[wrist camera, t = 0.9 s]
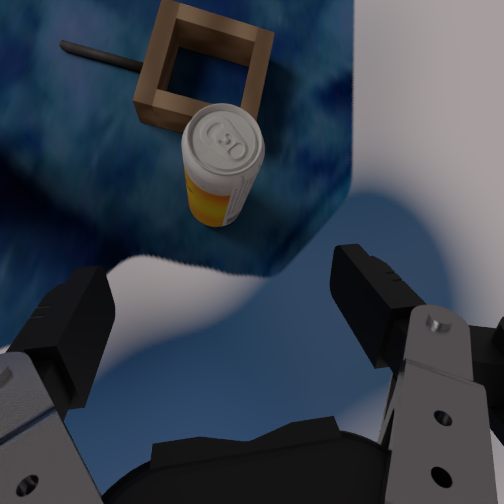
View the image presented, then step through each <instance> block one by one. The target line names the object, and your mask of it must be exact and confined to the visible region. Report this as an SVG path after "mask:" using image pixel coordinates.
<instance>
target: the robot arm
mask: <svg viewBox="0 0 504 504" xmlns="http://www.w3.org/2000/svg"><path fill="white" fill-rule="evenodd" d="M330 291H331V295H332V297H333V299H334V301H335V303H336V304H337V306H338V308H339V309H340V311H341V313H342V314H343V316H344V318H345V319H346V321H347V323H348V324H349V326H350V328H351V329H352V331H353V333H354V335H355V336H356V338H357V339H358V341H359V343H360V345H361V346H362V348H363V350H364V351H365V353H366V355H367V356H368V358H369V360H370V361H371V363H372V365H373V366H374V368H375V369H376V368H382V367H383V368H384V367H390V369H391V370H392V376H391V379H390V384H389V389H388V394H387V399H386V404H385V409H384V414H383V419H382V424H381V429H380V434H379V437H378V441H377V442H374V441H372V440H370V439H368V438H366V437H363V436H361V435H357V434H354V433H350V432H346V431H340V430H339V428H338V426H337V423H336V421H335V418H334V416H330V417H324V418H317V419H311V420H304V421H298V422H291V423H289V424H287V425H285V426H283V427H280V428H278V429H276V430H274V431H271V432H270V433H267V434H265V435H263V436H260V437H258V438H256V439H254V440H251V441H235V440H226V439H217V438H207V437H194V438H188V439H181V440H175V441H168V442H162V443H155V444H153V446H152V454H151V460H150V461H148V462H146V463H144V464H142V465H140V466H139V467H137V468H135V469H133V470H132V471H130V472H129V473H127V474H126V475H125V476H123V477H122V478H121V479H119V480H118V481H117V482H116V483H115V484H114V485H113V486H111V487H110V488H109V489H108V490H107V491H106V492H105V493H104V494H103V495H101V493H100V491H99V489H98V487H97V485H96V484H95V481H94V480H93V478H92V476H91V474H90V472H89V470H88V468H87V466H86V464H85V462H84V460H83V458H82V456H81V454H80V453H79V450H78V448H77V446H76V445H75V443H74V441H73V439H72V437H71V435H70V433H69V431H68V429H67V427H66V425H65V423H64V419H65V416H66V414H67V411H68V410H69V409H76V408H84V407H85V405H86V402H87V399H88V396H89V393H90V390H91V387H92V384H93V382H94V379H95V376H96V373H97V370H98V367H99V364H100V361H101V358H102V355H103V352H104V349H105V346H106V344H107V341H108V338H109V335H110V332H111V329H112V326H113V323H114V320H115V304H114V300H113V297H112V293H111V290H110V287H109V283H108V280H107V276H106V273H105V270H104V268H103V267H102V266H101V265H99V266H87V267H77V268H75V269H74V270H73V272H72V274H71V275H70V277H69V278H68V280H67V281H66V283H65V284H59V285H58V286H56V287H55V288H54V289H52V290H51V291H50V292H48V293H47V294H46V295H45V296H44V298H43V299H42V301H41V302H40V303H39V305H38V308H37V309H35V311H34V312H33V314H32V315H31V318H30V319H28V321H27V322H26V324H25V325H24V327H23V328H22V329H21V331H20V332H19V334H18V335H17V337H16V338H15V340H14V341H13V342H12V344H11V345H10V347H9V348H8V350H7V351H6V353H3V354H0V504H498V501H497V492H496V483H495V473H494V464H493V454H492V445H491V435H490V429H491V430H492V431H493V433H494V434H495V435H496V437H497V438H498V439H499V441H500V442H501V443H502V445H503V446H504V317H502V319H501V320H500V322H499V324H498V326H497V328H488V327H479V326H471V325H468V324H467V323H466V321H465V320H464V319H463V318H462V317H460V316H459V315H458V314H456V313H455V312H453V311H451V310H448V309H446V308H443V307H440V306H435V305H427V304H426V303H425V302H424V301H423V300H422V299H421V298H420V297H419V296H418V295H417V294H416V293H415V292H414V291H413V290H412V289H411V288H410V287H409V286H408V285H407V284H406V283H405V282H404V281H402V279H401V278H400V277H399V276H398V275H397V274H396V273H395V272H394V271H393V270H392V269H391V267H390V266H388V265H387V263H385V262H383V261H382V260H380V259H378V258H376V257H374V256H369V255H368V254H367V253H366V252H365V251H364V249H363V248H362V247H361V246H360V245H359V244H349V245H338V246H336V247H335V249H334V255H333V261H332V268H331V276H330Z"/></svg>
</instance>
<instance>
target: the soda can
mask: <svg viewBox="0 0 504 504" xmlns="http://www.w3.org/2000/svg"><path fill="white" fill-rule="evenodd" d="M182 154H183V162H184V169H185V177H186V185H187V193H188V201H189V207H190V210H191V212H192V214H193V215H194V217H195V218H196V219H197V220H198V221H200V222H201V223H203V224H205V225H207V226H211V227H222V226H225V225H228V224H230V223H231V222H233V221H234V220H235V219H236V218H237V217H238V215H239V214H240V212H241V209H242V207H243V205H244V203H245V200H246V198H247V196H248V194H249V192H250V189H251V187H252V185H253V183H254V180H255V178H256V176H257V174H258V172H259V169H260V167H261V165H262V162H263V159H264V155H265V144H264V140H263V136H262V134H261V130H260V128H259V126H258V124H257V122H256V121H255V119H254V118H253V117H252V116H251V115H250V114H249V113H248V112H246V111H245V110H243V109H241V108H239V107H237V106H234V105H231V104H222V103H221V104H213V105H209V106H207V107H205V108H203V109H201V110H200V111H199V112H197V113H196V114H195V115H194V117H193V118H192V120H191V121H190V122H189V123H188V125H187V126H186V128H185V130H184V133H183V136H182Z"/></svg>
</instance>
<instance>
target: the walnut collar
mask: <svg viewBox="0 0 504 504" xmlns="http://www.w3.org/2000/svg"><path fill="white" fill-rule="evenodd" d="M274 33H275V32H272V31H269V30H265V29H262V28H259V27H256V26H252V25H249V24H246V23H243V22H240V21H236V20H233V19H230V18H227V17H224V16H220V15H217V14H214V13H211V12H207V11H204V10H201V9H198V8H195V7H191V6H188V5H185V4H182V3H179V2H175V1H172V0H161V4H160V7H159V11H158V14H157V18H156V21H155V25H154V28H153V32H152V35H151V39H150V42H149V45H148V49H147V52H146V56H145V59H144V63H142V62H138V61H135V60H131V59H128V58H124V57H121V56H117V55H114V54H110V53H107V52H103V51H100V50H96V49H92V48H89V47H85V46H82V45H78V44H75V43H71V42H68V41H64V40H62V41H60V47H61V49H62V50H64V51H68V52H71V53H75V54H78V55H82V56H85V57H89V58H93V59H96V60H100V61H103V62H107V63H111V64H114V65H118V66H121V67H125V68H129V69H132V70H136V71H139V72H141V73H140V77H139V80H138V84H137V87H136V91H135V94H134V98H133V103H134V106H135V109H136V112H137V114H138V117H139V120H140V122H143V123H147V124H150V125H154V126H158V127H162V128H166V129H170V130H174V131H177V132H181V133H184V130H185V128H186V126H187V125H188V123H189V122H190V121H191V120H192V118H193V117H194V115H195V114H196V113H197V112H199V111H200V110H201V109H203V108H205V107H207V106H209V105H213V104H210V103H206V102H203V101H199V100H195V99H192V98H188V97H184V96H181V95H177V94H173V93H170V92H167V88H168V85H169V81H170V77H171V73H172V70H173V66H174V62H175V58H176V55H177V51H178V47H182V48H186V49H189V50H193V51H196V52H199V53H203V54H206V55H210V56H213V57H216V58H220V59H223V60H227V61H230V62H233V63H237V64H240V65H244V66H247V67H249V71H248V75H247V80H246V85H245V89H244V94H243V98H242V103H241V109H243V110H245V111H246V112H248V113H249V114H250V115H251V116H252V117H253V118H254V119H255V121H256V120H257V116H258V111H259V106H260V101H261V96H262V91H263V86H264V82H265V77H266V72H267V67H268V62H269V57H270V52H271V48H272V43H273V38H274Z"/></svg>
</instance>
